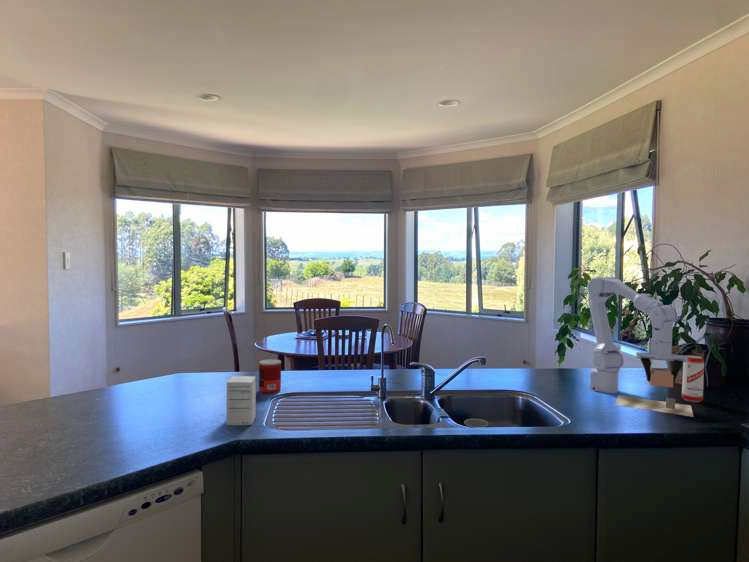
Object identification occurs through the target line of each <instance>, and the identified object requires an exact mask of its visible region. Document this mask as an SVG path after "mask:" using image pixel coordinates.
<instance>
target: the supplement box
mask: <svg viewBox="0 0 749 562" xmlns="http://www.w3.org/2000/svg"><path fill="white" fill-rule="evenodd" d="M256 378H257V377H256V376H254V375H253V376H252V375H250V376H249V375H245V376H243V375H242V376H241V375H239V376H235V375H234V376H233V375H232V376H231V377H229V379H228V380H227V381H226V426H251V425H253V424H254V423H253V422H254V420H255V419H256V411H257V410H256V403H257V402H256V401H257V400H256V399H257V398H256V396H257V393H256V391H257V389H256V388H257V387H256V385H257V384H256V383H257V382H256V380H257V379H256Z"/></svg>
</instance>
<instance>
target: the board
mask: <svg viewBox="0 0 749 562" xmlns="http://www.w3.org/2000/svg"><path fill="white" fill-rule="evenodd" d="M614 405H615V406H620V407H627V408H634V409H639V410H640V409H641V410H647V411H652V412H660V413H665V414H672V415H679V416H685V417H691V418H693V417H694V414H693V413H694V412H693V409H692V405H689V404H682V403H676V399H675V398H671V397H666V399H665V401H662V400H661V401H660V400H655V399H648V398H641V397H633V396H626V395H617V397H616V400H615V404H614Z"/></svg>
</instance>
